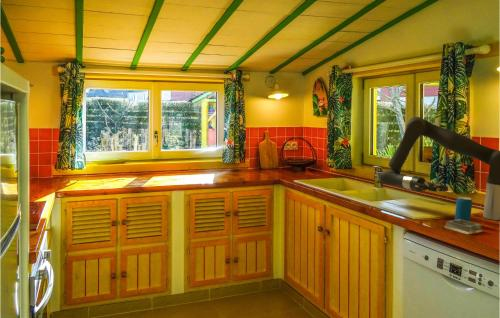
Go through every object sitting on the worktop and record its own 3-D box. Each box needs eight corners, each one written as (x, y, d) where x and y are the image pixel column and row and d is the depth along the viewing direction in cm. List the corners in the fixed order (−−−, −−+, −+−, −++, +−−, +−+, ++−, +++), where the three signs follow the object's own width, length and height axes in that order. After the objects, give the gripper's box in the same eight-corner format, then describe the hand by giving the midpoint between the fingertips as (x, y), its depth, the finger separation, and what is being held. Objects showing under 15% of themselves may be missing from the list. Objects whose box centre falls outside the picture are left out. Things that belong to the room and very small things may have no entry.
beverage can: (458, 220, 207) (461, 196, 205) (472, 224, 201) (475, 198, 200) (451, 222, 203) (454, 197, 201) (465, 225, 198) (468, 200, 196)
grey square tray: (459, 225, 198) (459, 218, 198) (482, 231, 189) (483, 224, 189) (444, 227, 193) (444, 221, 192) (467, 234, 183) (468, 227, 183)
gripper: (405, 176, 220) (433, 182, 206) (423, 175, 227) (451, 180, 214) (403, 190, 221) (431, 197, 207) (422, 189, 228) (450, 195, 215)
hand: (441, 189), depth 210 cm, fingers open, 8 cm apart
